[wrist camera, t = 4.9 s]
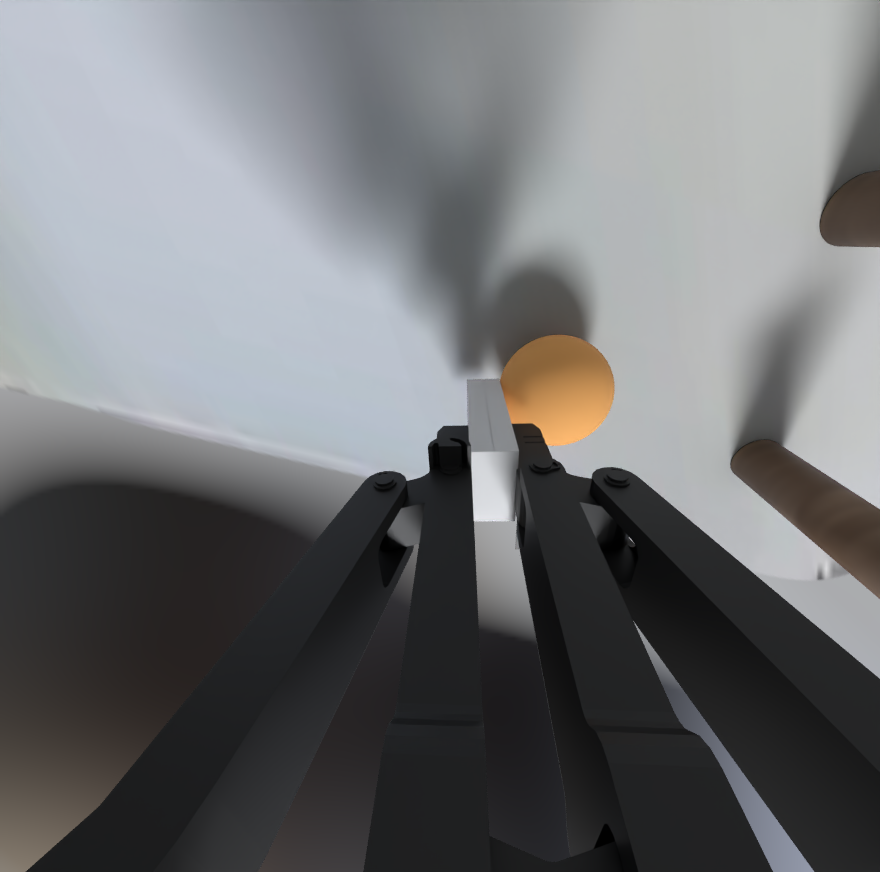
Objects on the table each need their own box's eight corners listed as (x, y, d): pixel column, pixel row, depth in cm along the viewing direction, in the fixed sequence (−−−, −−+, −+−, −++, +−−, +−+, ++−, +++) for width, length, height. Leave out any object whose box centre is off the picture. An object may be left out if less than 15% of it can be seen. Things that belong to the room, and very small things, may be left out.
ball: (487, 350, 14) (628, 360, 12) (514, 320, 18) (623, 324, 16) (485, 456, 17) (602, 476, 15) (509, 409, 21) (603, 421, 19)
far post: (738, 440, 20) (920, 572, 12) (789, 438, 20) (1007, 571, 12) (724, 478, 21) (881, 621, 13) (772, 477, 21) (958, 620, 13)
